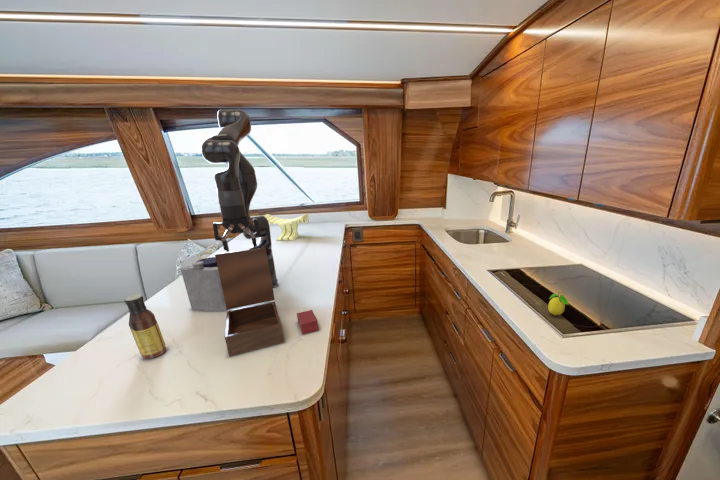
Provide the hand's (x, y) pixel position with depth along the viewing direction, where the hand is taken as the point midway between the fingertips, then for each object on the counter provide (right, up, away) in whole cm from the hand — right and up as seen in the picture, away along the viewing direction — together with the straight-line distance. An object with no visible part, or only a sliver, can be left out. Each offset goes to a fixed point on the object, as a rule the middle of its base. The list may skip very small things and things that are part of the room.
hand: (241, 249), depth 106 cm
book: (+24, -28, 0) cm, 37 cm away
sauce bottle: (-20, -34, -14) cm, 41 cm away
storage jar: (-28, -18, +30) cm, 45 cm away
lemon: (+115, -25, +5) cm, 118 cm away
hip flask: (-20, -24, +14) cm, 34 cm away
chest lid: (+3, -10, -1) cm, 11 cm away
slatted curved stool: (-30, +16, +124) cm, 129 cm away
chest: (+8, -30, -5) cm, 31 cm away
